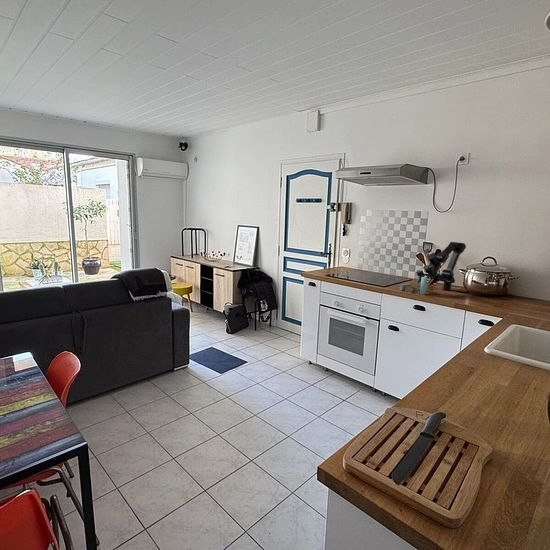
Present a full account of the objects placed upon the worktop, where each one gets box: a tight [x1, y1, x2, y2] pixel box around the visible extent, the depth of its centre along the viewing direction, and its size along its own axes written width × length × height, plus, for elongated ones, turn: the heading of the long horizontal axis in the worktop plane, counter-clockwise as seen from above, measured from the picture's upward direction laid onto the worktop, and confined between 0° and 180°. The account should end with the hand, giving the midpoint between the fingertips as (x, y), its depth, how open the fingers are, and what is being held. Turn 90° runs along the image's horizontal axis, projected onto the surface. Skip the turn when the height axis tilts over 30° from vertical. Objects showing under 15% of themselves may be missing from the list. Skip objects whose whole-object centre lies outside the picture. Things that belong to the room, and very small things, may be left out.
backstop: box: [399, 283, 412, 291], centre depth 272 cm, size 2×10×4 cm, turn 122°
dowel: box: [419, 276, 428, 295], centre depth 258 cm, size 4×4×12 cm
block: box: [404, 285, 421, 294], centre depth 267 cm, size 6×9×3 cm, turn 122°
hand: (423, 284), depth 258 cm, fingers open, 9 cm apart
